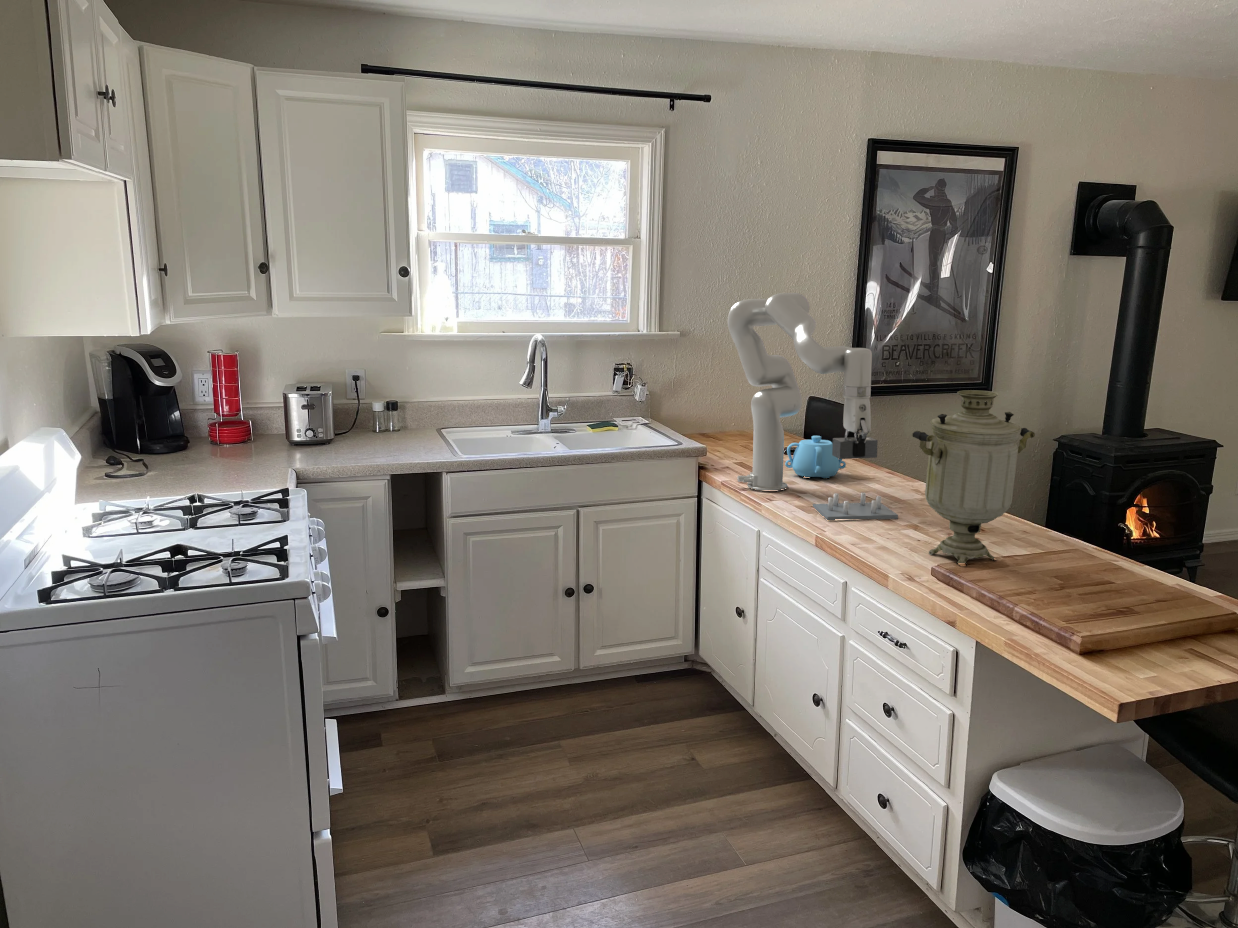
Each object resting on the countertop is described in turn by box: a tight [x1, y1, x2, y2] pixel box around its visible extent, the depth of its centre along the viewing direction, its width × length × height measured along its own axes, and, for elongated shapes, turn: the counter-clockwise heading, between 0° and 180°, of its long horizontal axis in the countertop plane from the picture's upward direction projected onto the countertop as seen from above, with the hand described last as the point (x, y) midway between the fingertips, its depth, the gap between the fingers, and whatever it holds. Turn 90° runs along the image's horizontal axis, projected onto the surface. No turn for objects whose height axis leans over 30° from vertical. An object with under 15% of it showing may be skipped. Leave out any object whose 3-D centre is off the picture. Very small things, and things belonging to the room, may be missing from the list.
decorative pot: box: [784, 435, 847, 479], centre depth 306 cm, size 16×16×14 cm
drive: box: [832, 436, 879, 460], centre depth 262 cm, size 11×6×5 cm, turn 98°
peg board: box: [812, 492, 899, 521], centre depth 260 cm, size 20×14×5 cm
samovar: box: [911, 389, 1036, 564], centre depth 219 cm, size 30×26×40 cm
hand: (854, 453), depth 262 cm, fingers closed on drive, 6 cm apart
